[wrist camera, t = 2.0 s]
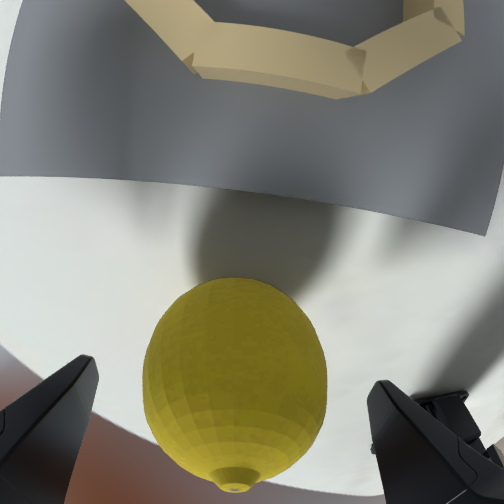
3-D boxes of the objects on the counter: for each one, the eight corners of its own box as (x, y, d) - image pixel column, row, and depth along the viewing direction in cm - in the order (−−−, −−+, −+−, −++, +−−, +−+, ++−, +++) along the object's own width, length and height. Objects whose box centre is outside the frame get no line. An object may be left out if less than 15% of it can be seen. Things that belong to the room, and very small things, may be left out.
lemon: (143, 288, 12) (69, 456, 5) (254, 213, 11) (280, 390, 4) (223, 368, 14) (217, 523, 7) (324, 314, 13) (384, 479, 6)
